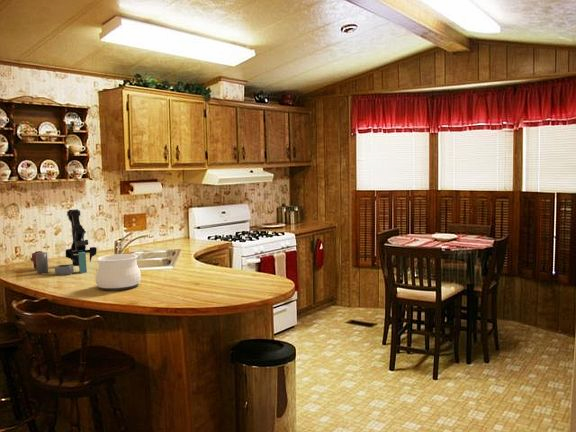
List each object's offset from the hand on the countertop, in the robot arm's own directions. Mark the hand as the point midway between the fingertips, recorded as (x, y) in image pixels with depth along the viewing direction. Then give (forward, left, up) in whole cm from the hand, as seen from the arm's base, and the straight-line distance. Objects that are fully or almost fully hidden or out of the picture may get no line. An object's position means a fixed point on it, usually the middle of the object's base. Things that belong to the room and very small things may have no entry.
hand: (82, 262), depth 339 cm
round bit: (+4, -27, -7) cm, 28 cm away
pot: (+34, +45, -7) cm, 57 cm away
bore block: (+4, -11, -7) cm, 13 cm away
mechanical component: (-6, -37, -7) cm, 38 cm away
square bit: (-1, -1, -7) cm, 7 cm away
